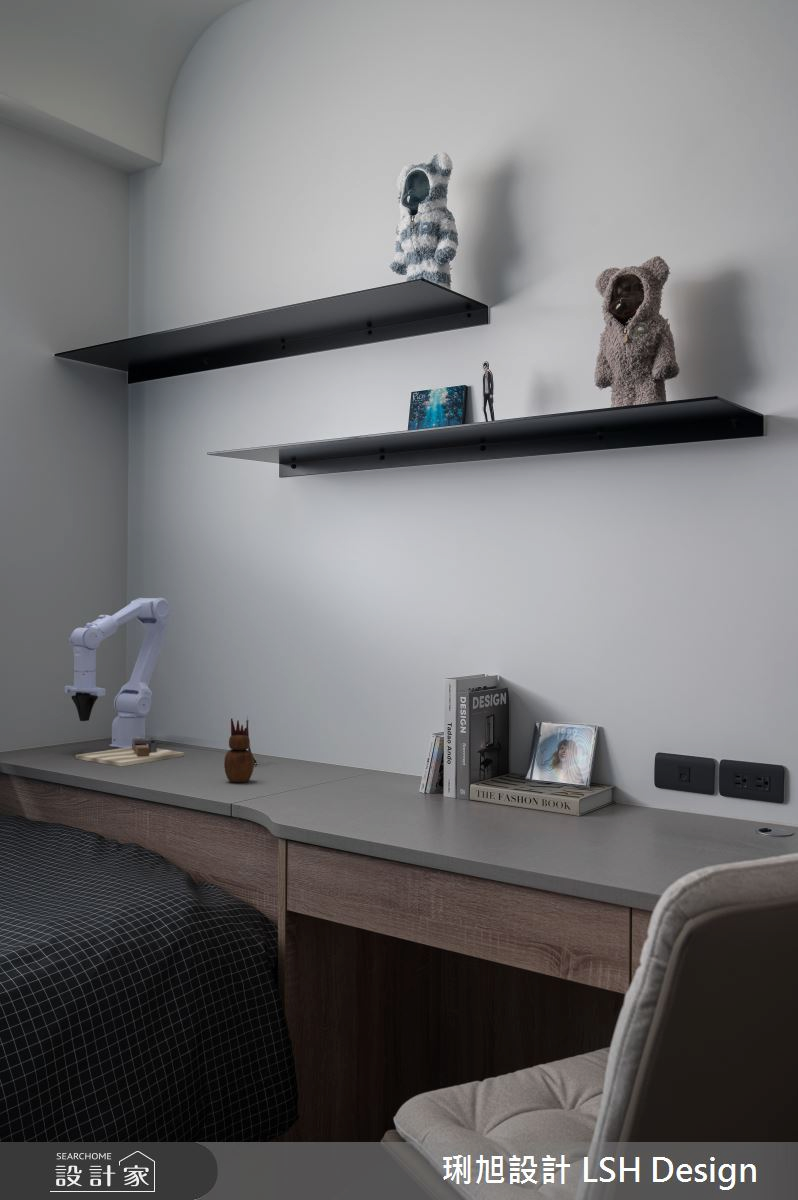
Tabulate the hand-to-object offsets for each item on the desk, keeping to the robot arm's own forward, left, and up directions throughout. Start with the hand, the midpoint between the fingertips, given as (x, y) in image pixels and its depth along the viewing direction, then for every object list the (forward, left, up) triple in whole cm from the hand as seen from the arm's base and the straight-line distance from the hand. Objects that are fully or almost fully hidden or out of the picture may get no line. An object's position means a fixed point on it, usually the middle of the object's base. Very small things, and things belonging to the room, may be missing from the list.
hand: (84, 720), depth 265 cm
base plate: (+14, +5, -9) cm, 17 cm away
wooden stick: (+13, +9, -8) cm, 18 cm away
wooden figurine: (+61, -1, -10) cm, 62 cm away
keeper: (+14, +9, -8) cm, 19 cm away
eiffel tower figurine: (+46, +17, -10) cm, 50 cm away
